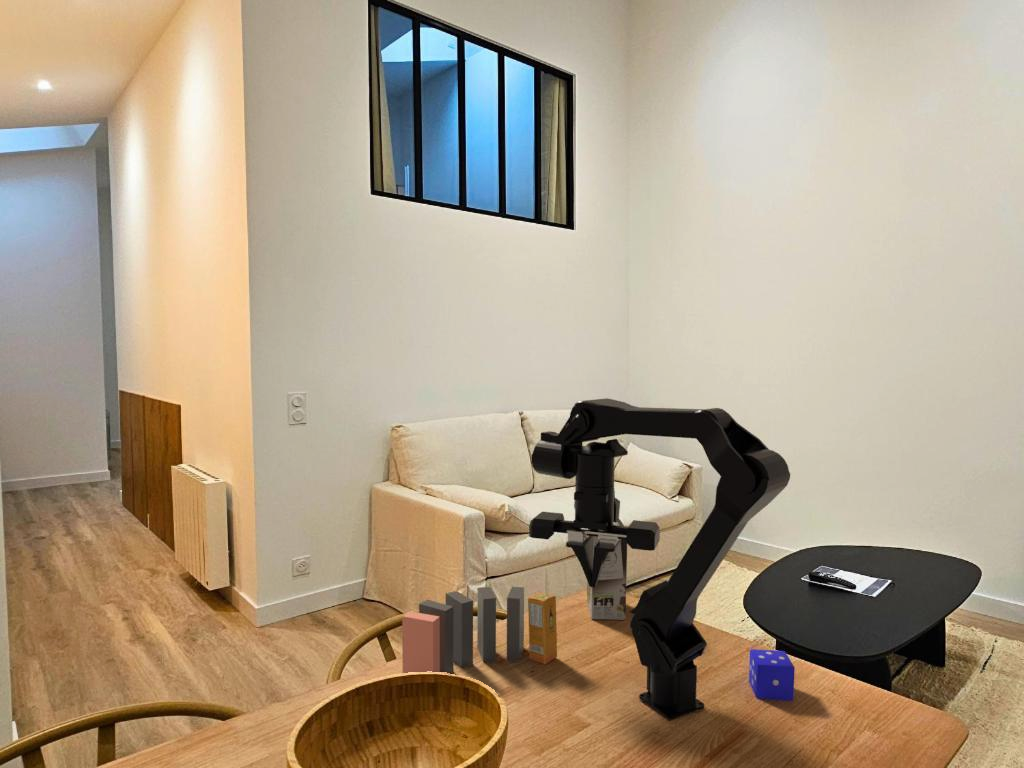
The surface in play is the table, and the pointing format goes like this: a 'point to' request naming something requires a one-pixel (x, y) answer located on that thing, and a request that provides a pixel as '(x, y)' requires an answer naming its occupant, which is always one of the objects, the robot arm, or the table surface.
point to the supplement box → (542, 627)
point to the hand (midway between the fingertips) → (593, 586)
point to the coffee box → (610, 585)
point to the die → (771, 675)
